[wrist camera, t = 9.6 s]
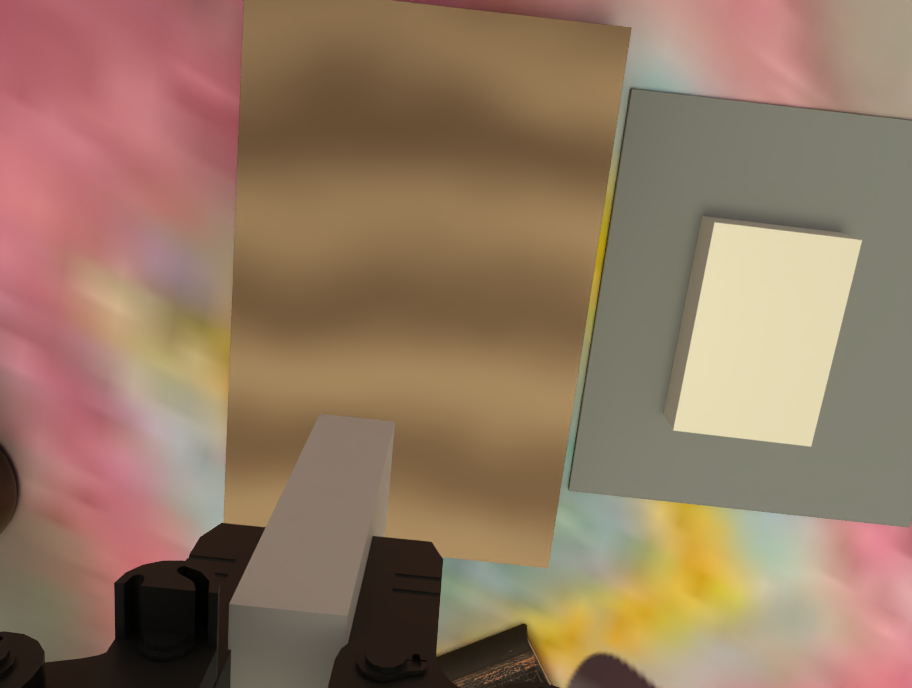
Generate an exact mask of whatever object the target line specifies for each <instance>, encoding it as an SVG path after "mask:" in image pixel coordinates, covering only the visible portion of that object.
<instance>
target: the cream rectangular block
mask: <svg viewBox="0 0 912 688" xmlns="http://www.w3.org/2000/svg"><path fill="white" fill-rule="evenodd" d="M861 243H862V240H861V239H858V238H855V237H852V236H850V235H847V234H844V233H841V232H832V231H824V230H816V229H808V228H799V227H791V226H783V225H774V224H766V223H758V222H750V221H741V220H733V219H725V218H716V217H708V216H702V218H701V224H700V229H699V234H698V239H697V244H696V249H695V254H694V260H693V265H692V270H691V275H690V280H689V285H688V290H687V296H686V301H685V306H684V311H683V316H682V321H681V326H680V332H679V337H678V342H677V347H676V352H675V357H674V362H673V368H672V373H671V378H670V383H669V388H668V393H667V398H666V403H665V409H664V416H665V418H666V419H667V421H668V423H669V424H670V426H671V428H672V429H673V431H681V432H690V433H699V434H707V435H716V436H724V437H733V438H741V439H750V440H758V441H767V442H775V443H784V444H792V445H801V446H809V447H811V446H812V442H813V437H814V433H815V429H816V425H817V421H818V417H819V413H820V409H821V405H822V401H823V397H824V393H825V389H826V385H827V381H828V377H829V373H830V369H831V365H832V361H833V356H834V352H835V348H836V344H837V340H838V336H839V332H840V328H841V324H842V320H843V316H844V312H845V308H846V304H847V300H848V296H849V292H850V288H851V284H852V280H853V275H854V271H855V267H856V263H857V259H858V255H859V251H860V247H861Z"/></svg>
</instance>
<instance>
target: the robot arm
mask: <svg viewBox="0 0 912 688" xmlns="http://www.w3.org/2000/svg"><path fill="white" fill-rule="evenodd" d="M394 427H395V421H385V420H375V419H365V418H356V417H346V416H336V415H326V414H319V416H318V419H317V421H316V423H315V425H314V427H313V429H312V431H311V433H310V435H309V437H308V440H307V442H306V444H305V446H304V448H303V450H302V452H301V454H300V456H299V458H298V461H297V463H296V465H295V467H294V469H293V471H292V473H291V475H290V477H289V479H288V482H287V484H286V486H285V488H284V490H283V492H282V494H281V496H280V498H279V500H278V503H277V505H276V507H275V509H274V511H273V513H272V515H271V517H270V519H269V521H268V523H267V526H266V527H259V526H249V525H239V524H229V523H221V524H219V525H218V526H216V527H215V528H213V529H212V530H210V531H209V532H207V533H206V534H204V535H203V536H201V537H200V538H199V540H198V542H197V543H196V545H195V547H194V548H193V550H192V551H191V553H190V555H189V558H187V560H186V561H159V562H155V563H150V564H145V565H142V566H139V567H137V568H135V569H133V570H131V571H128V572H126V573H125V574H124V575H123V576H122V577H120V578H119V579H118V580H117V581H116V582H115V583H114V587H115V640H114V641H113V643H112V644H111V646H110V647H109V649H108V651H107V652H106V653H104V654H101V655H98V656H92V657H87V658H81V659H73V660H64V661H55V662H46V663H45V654H44V650H43V649H42V647H41V645H40V644H39V642H38V641H37V640H35V639H33V638H31V637H29V636H27V635H25V634H19V633H12V632H0V688H460V687H458V686H457V685H455V684H454V683H452V682H451V681H450V680H449V679H448V678H447V677H446V676H445V675H444V674H443V672H442V671H441V669H440V667H439V665H438V663H437V657H436V646H437V633H438V619H439V606H440V592H441V578H442V565H443V559H442V557H441V555H440V554H439V552H438V551H437V549H436V548H435V546H434V544H433V543H432V542H429V541H419V540H409V539H399V538H390V537H385V533H386V522H387V510H388V498H389V486H390V474H391V463H392V451H393V439H394ZM503 688H559V687H556V686H553V685H550V684H547V683H541V682H527V681H524V682H519V683H515V684H510V685H506V686H505V687H503Z"/></svg>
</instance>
